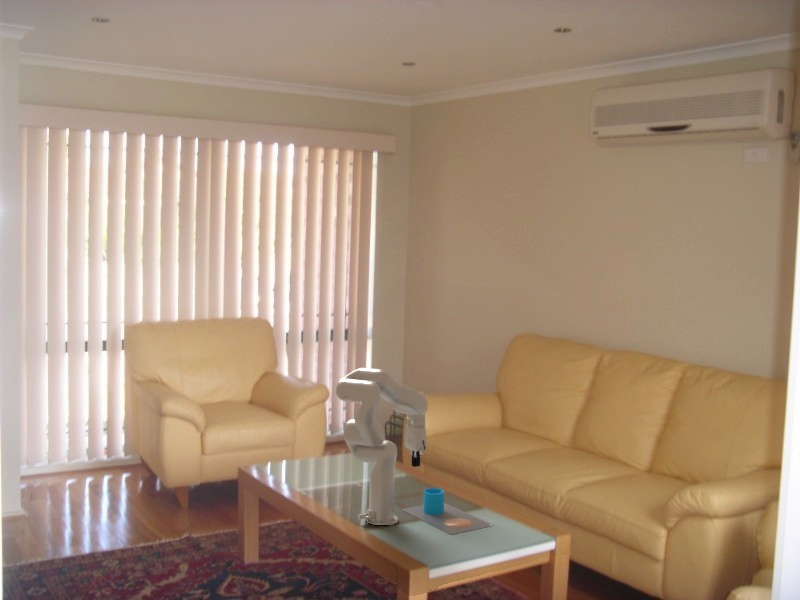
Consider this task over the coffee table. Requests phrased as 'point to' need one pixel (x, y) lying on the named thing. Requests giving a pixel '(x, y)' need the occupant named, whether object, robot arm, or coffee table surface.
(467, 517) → the mat
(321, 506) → the coffee table surface
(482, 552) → the coffee table surface
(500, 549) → the coffee table surface
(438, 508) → the mug
